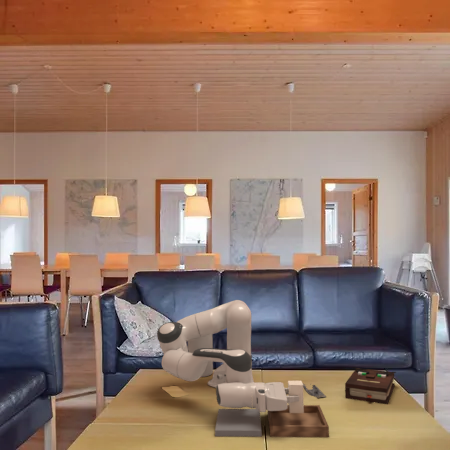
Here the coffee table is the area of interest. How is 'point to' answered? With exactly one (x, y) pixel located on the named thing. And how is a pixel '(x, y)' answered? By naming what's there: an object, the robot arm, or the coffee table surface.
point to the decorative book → (370, 385)
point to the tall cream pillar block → (296, 389)
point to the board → (238, 422)
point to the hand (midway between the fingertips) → (298, 395)
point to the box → (298, 423)
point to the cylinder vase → (202, 343)
